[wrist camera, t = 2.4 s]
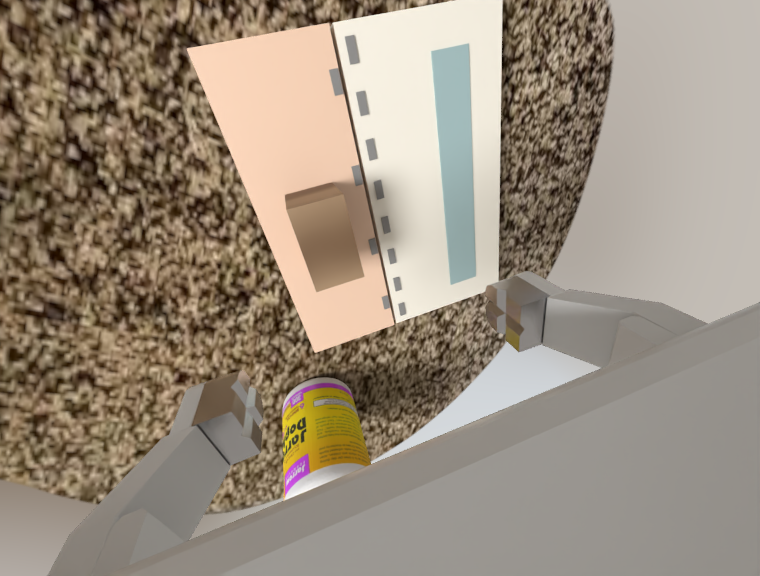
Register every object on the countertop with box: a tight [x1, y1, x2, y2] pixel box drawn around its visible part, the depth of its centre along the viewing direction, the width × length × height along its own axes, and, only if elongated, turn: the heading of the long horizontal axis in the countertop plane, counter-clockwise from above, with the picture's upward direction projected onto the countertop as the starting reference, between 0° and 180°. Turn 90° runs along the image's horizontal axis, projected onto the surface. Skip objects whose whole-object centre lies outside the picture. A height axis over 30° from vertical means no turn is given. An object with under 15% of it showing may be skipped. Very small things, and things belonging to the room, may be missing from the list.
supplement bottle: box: [283, 377, 371, 500], centre depth 24 cm, size 7×7×13 cm
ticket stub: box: [187, 23, 394, 353], centre depth 19 cm, size 20×7×6 cm, turn 11°
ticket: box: [330, 0, 503, 323], centre depth 22 cm, size 20×10×2 cm, turn 11°
